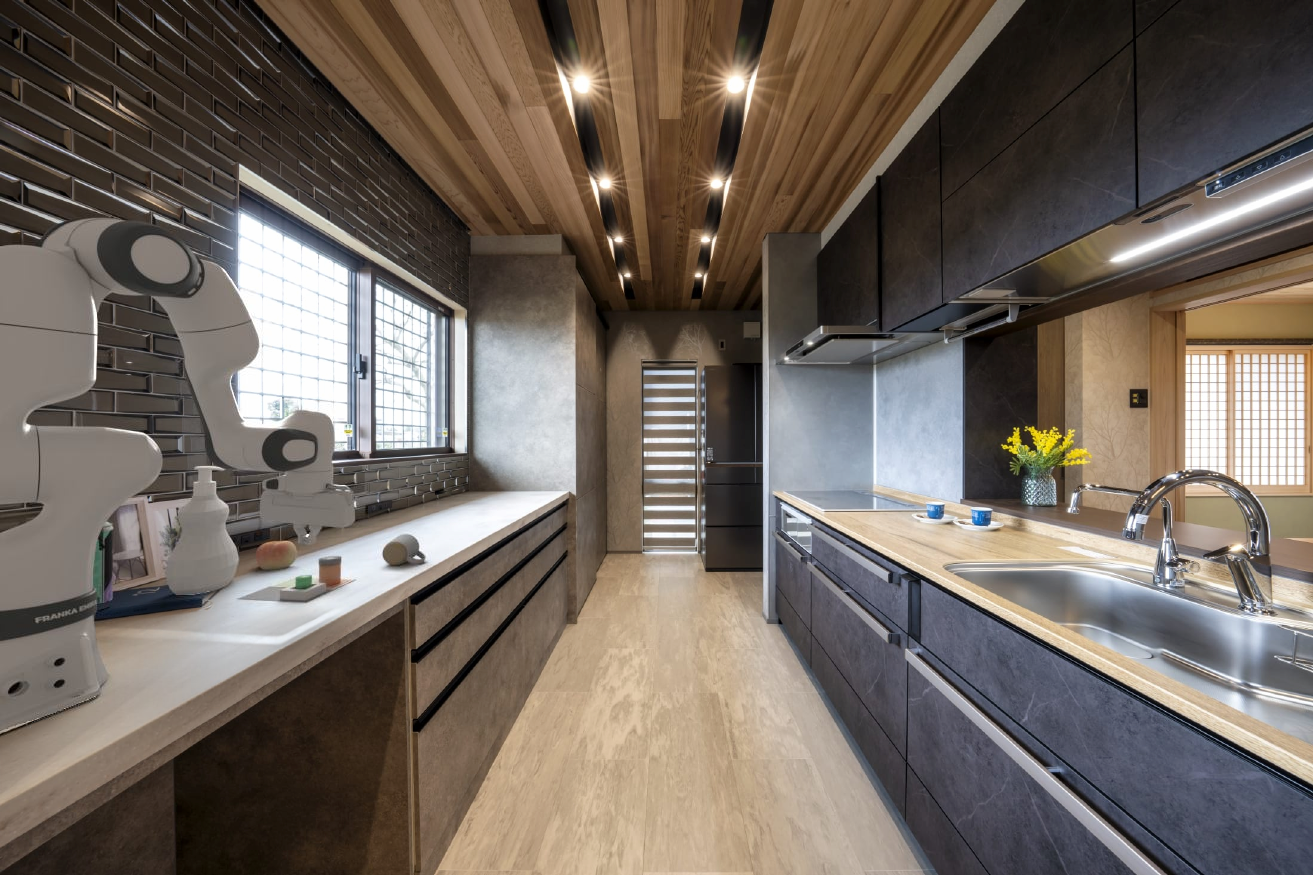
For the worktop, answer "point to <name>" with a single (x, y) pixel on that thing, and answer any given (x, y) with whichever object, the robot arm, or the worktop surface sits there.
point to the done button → (303, 582)
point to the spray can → (104, 564)
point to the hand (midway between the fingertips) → (307, 543)
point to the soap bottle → (202, 542)
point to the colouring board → (294, 591)
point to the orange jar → (330, 570)
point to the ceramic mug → (403, 550)
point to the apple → (276, 555)
